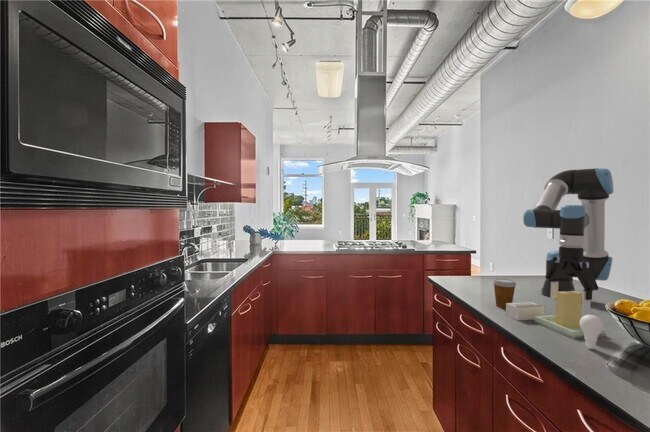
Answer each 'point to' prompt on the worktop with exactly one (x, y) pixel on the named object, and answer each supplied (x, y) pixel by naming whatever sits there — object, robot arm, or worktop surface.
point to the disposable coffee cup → (504, 291)
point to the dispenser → (524, 310)
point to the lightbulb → (591, 329)
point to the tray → (570, 332)
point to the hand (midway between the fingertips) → (569, 303)
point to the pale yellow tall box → (568, 309)
